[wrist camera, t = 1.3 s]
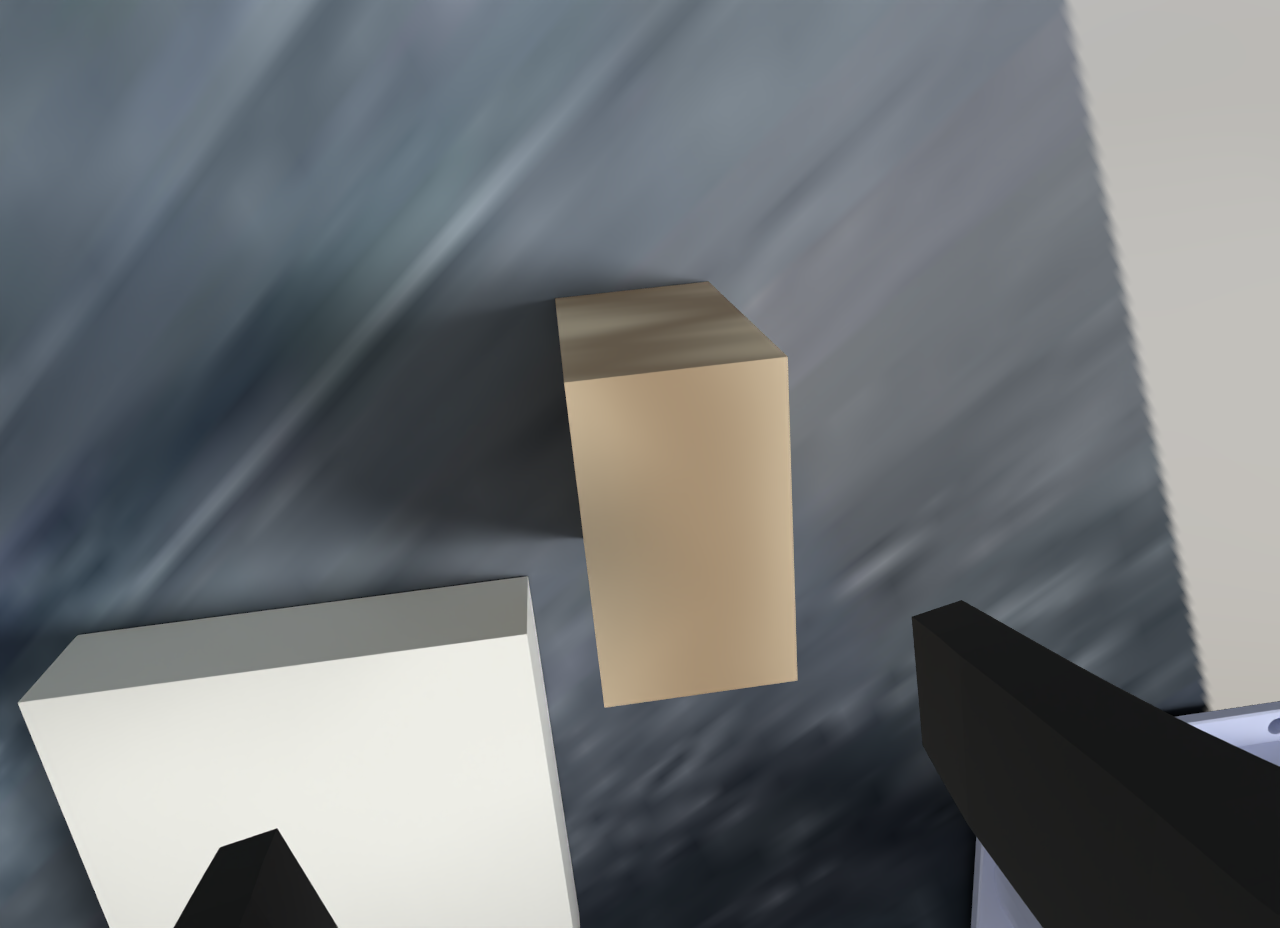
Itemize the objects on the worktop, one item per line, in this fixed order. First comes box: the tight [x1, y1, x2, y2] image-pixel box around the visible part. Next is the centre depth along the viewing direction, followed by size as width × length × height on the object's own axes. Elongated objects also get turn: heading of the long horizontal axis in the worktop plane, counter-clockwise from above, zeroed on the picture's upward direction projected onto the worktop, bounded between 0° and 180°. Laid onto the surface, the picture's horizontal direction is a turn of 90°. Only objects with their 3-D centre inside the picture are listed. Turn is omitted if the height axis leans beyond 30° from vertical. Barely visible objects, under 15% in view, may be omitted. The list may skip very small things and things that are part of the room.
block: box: [555, 282, 797, 707], centre depth 17 cm, size 3×6×6 cm, turn 5°
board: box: [18, 576, 580, 928], centre depth 21 cm, size 10×10×2 cm
